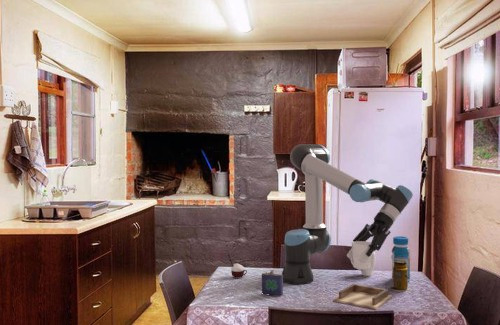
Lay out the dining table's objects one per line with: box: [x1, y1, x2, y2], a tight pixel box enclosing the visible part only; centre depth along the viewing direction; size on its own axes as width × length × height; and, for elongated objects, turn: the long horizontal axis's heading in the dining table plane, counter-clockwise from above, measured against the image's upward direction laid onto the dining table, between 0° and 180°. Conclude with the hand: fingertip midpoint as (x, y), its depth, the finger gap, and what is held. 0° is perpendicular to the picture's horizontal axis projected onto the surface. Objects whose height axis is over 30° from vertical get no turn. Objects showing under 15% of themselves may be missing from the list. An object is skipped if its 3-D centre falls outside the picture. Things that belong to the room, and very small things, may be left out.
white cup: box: [351, 240, 371, 270], centre depth 186 cm, size 8×8×10 cm
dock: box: [332, 283, 393, 310], centre depth 186 cm, size 18×18×3 cm
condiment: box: [386, 260, 412, 293], centre depth 201 cm, size 7×8×12 cm
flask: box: [261, 269, 284, 295], centre depth 194 cm, size 9×3×11 cm, turn 74°
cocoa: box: [226, 252, 248, 278], centre depth 223 cm, size 10×6×12 cm, turn 82°
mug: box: [350, 251, 376, 277], centre depth 224 cm, size 12×8×11 cm
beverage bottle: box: [390, 235, 411, 282], centre depth 215 cm, size 8×8×20 cm
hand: (354, 259), depth 185 cm, fingers closed on white cup, 8 cm apart
